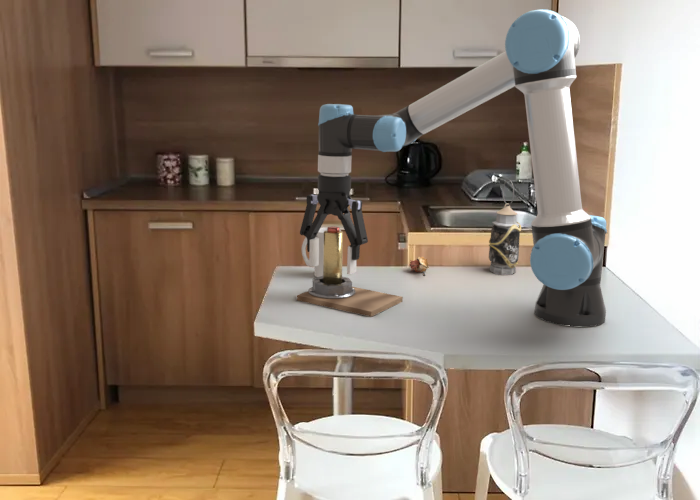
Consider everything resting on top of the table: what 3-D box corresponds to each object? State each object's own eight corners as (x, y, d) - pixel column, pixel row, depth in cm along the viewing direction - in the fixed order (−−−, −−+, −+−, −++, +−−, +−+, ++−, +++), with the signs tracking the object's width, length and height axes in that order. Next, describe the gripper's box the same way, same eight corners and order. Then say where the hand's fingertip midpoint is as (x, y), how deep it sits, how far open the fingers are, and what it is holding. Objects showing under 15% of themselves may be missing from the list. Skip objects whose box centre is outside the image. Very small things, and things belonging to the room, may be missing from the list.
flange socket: (364, 291, 182) (364, 279, 181) (338, 302, 173) (338, 289, 172) (325, 283, 187) (326, 272, 187) (298, 293, 178) (299, 281, 178)
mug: (336, 271, 203) (337, 227, 200) (342, 278, 197) (343, 232, 194) (298, 273, 200) (299, 228, 198) (303, 280, 194) (304, 233, 191)
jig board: (402, 301, 178) (402, 296, 178) (371, 316, 167) (371, 311, 166) (330, 287, 189) (331, 282, 188) (296, 300, 177) (296, 295, 177)
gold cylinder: (345, 290, 181) (346, 227, 177) (334, 294, 177) (336, 230, 174) (329, 286, 183) (330, 224, 179) (319, 291, 179) (320, 227, 176)
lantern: (522, 275, 204) (530, 181, 199) (494, 276, 203) (501, 182, 197) (509, 267, 213) (516, 177, 207) (481, 268, 211) (488, 177, 205)
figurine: (399, 268, 209) (399, 252, 208) (416, 266, 211) (416, 250, 210) (425, 281, 197) (425, 264, 196) (442, 279, 199) (443, 262, 198)
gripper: (386, 177, 171) (382, 274, 176) (304, 167, 183) (302, 259, 188) (368, 180, 165) (365, 280, 170) (284, 170, 176) (284, 265, 181)
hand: (332, 269), depth 179 cm, fingers open, 10 cm apart
